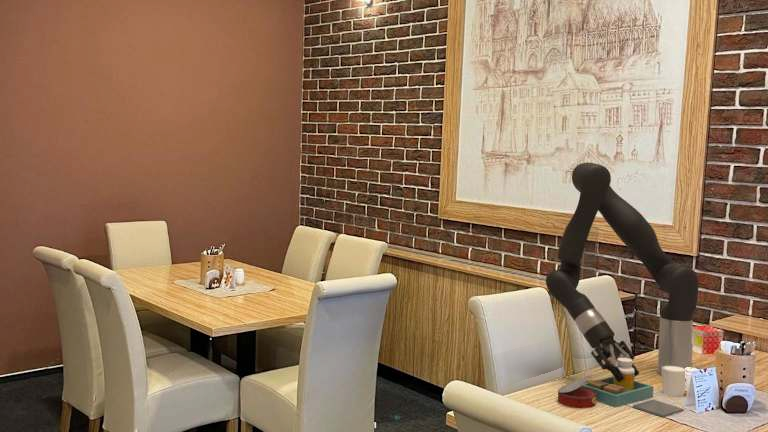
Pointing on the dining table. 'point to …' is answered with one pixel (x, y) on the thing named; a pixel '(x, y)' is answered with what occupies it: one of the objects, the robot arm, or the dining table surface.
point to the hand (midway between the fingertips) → (629, 377)
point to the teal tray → (637, 394)
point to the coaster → (657, 408)
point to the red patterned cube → (706, 339)
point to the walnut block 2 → (613, 389)
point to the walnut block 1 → (597, 384)
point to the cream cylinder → (673, 380)
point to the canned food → (577, 394)
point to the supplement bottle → (626, 374)
